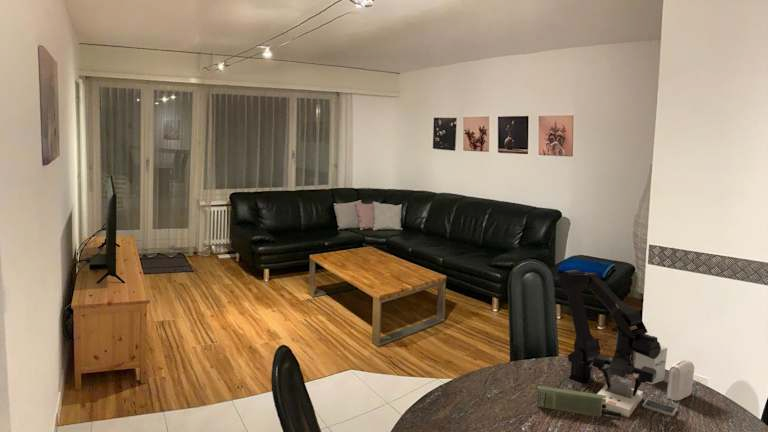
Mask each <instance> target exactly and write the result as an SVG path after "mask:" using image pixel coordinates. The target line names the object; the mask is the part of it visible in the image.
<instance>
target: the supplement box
mask: <svg viewBox="0 0 768 432" xmlns="http://www.w3.org/2000/svg"><path fill="white" fill-rule="evenodd" d="M660 347H661V351H660V354H659V355H658V357H657V358H655V359H651V358H649V357H646V356H644V355H641V354H639V353H637V352H635V359H634V367H636V368H639V369H642V367H643V366H646V367H649V368H653V369H655V370H656V372H657V373H656V378H655V379H654V381H653V382H652V383H650V382H646V384H649V385H651V386H653V385H654V384H657V383H659V382H663V381H665V373H666V363H667V353H668V347H666V346H663V345H661V344H660ZM637 377H638V374H635V373H633V378H635V379H636V378H637Z"/></svg>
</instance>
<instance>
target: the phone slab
mask: <svg viewBox="0 0 768 432" xmlns="http://www.w3.org/2000/svg"><path fill="white" fill-rule="evenodd" d="M642 408H645V409H649V410H651V411H655V412H657V413H660V414H662V415H663V414H664V415H667V416H670V417H672V418H673V417H675V415H676V414H677V411H678V408H677V407H675V406H672V405H668V404H665V403H661V402H658V401H656V400H651V399H648V398H646V399H645V400H644V402H643V403H642Z"/></svg>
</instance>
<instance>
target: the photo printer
mask: <svg viewBox="0 0 768 432" xmlns="http://www.w3.org/2000/svg"><path fill="white" fill-rule="evenodd" d="M694 373H695V366H694V363H693V362H692V361H690V360H687V359H682V360H679V361H676V362H675V363H673V365H671V366H670V368H669V372H668V380H667V387H666V388H667V389H666V397H667V398H668V399H670V400H672V401H675V402H676V401H680V400H683V399H685V398H687V397H689V396H690V395H692V390H693V382H694Z"/></svg>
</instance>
